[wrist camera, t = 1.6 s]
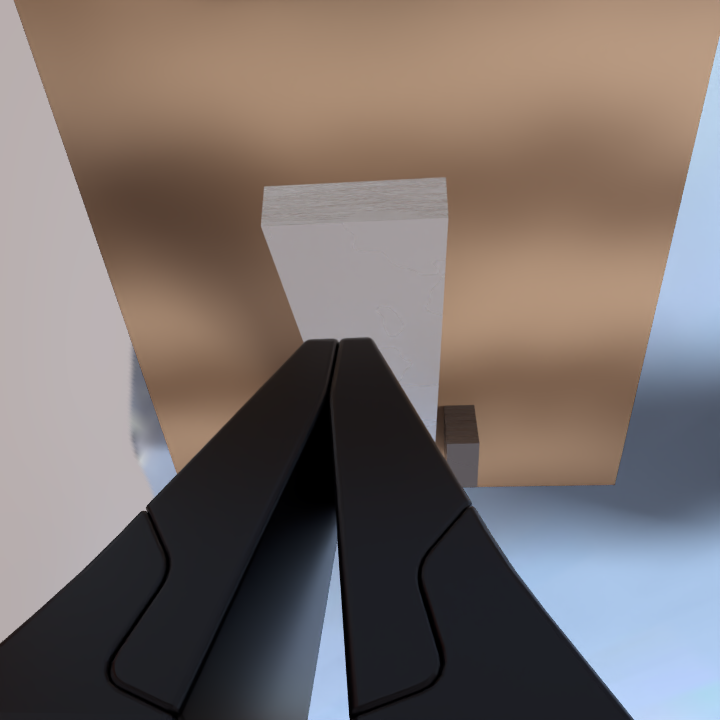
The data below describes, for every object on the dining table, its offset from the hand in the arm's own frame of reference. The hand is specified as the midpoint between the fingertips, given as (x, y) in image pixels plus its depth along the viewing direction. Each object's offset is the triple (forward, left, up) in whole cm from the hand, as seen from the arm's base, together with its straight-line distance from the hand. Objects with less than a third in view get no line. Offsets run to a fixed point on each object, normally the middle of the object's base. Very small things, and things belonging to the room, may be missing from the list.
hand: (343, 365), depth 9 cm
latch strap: (-5, 0, -7) cm, 8 cm away
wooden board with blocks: (-3, 0, -13) cm, 13 cm away
